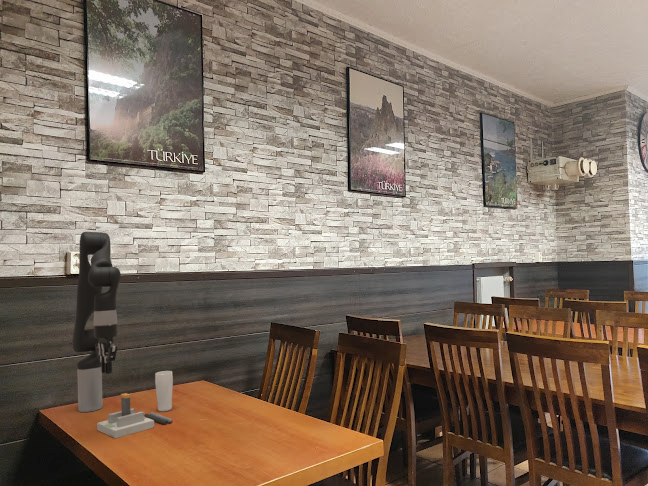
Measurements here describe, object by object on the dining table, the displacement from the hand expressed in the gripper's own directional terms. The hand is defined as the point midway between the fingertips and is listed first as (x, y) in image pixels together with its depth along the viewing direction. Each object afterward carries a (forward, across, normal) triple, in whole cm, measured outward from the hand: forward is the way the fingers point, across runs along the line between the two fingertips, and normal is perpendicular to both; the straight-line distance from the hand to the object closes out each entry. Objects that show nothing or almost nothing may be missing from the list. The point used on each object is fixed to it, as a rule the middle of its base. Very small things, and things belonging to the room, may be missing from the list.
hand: (106, 372), depth 172 cm
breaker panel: (+21, 0, +6) cm, 22 cm away
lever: (+17, 0, +6) cm, 18 cm away
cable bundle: (+21, 0, +19) cm, 28 cm away
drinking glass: (+21, -11, +28) cm, 36 cm away
